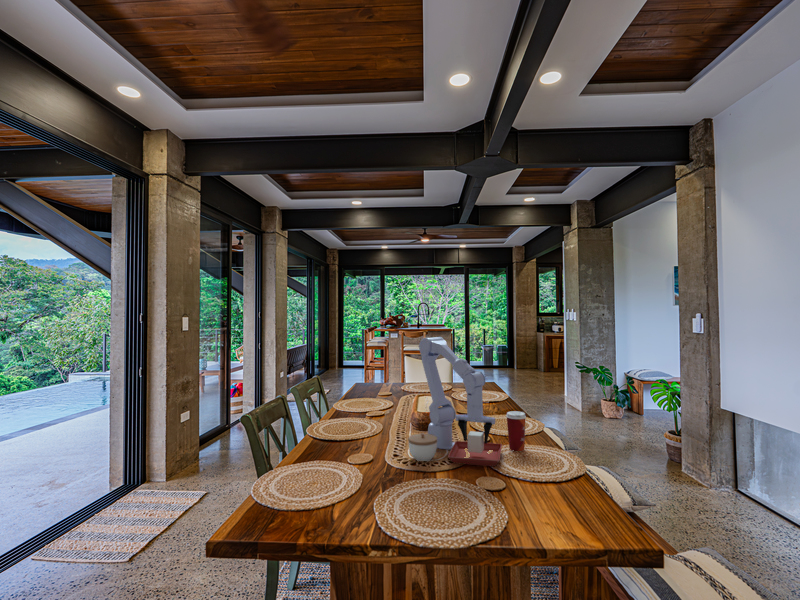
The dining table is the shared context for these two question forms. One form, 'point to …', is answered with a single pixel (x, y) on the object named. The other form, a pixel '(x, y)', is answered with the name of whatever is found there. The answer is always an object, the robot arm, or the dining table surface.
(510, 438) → the paper cup
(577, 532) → the dining table surface
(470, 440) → the block
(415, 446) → the lidded jar
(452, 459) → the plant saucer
